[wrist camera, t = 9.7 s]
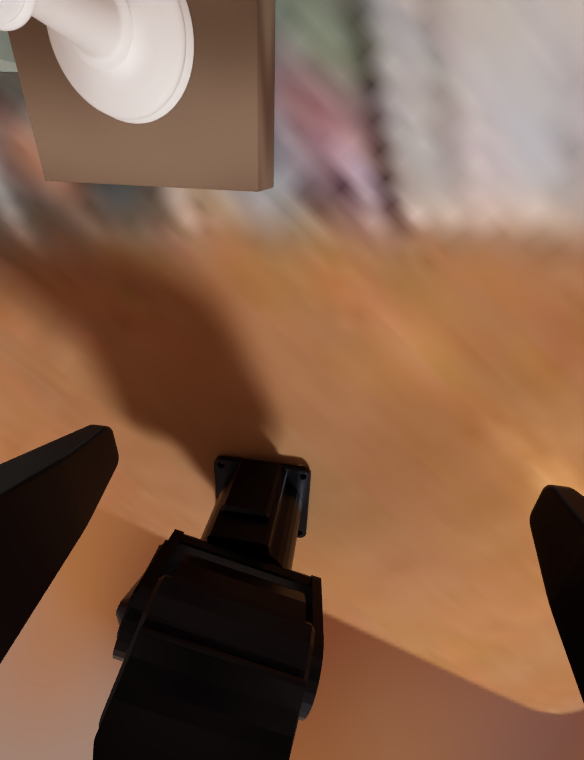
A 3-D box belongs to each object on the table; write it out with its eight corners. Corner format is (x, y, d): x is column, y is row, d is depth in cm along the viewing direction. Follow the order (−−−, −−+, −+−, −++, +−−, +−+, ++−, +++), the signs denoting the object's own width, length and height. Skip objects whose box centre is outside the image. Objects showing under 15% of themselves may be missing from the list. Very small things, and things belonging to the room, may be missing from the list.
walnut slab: (273, 187, 17) (258, 191, 15) (89, 178, 18) (45, 180, 16) (276, -112, 13) (255, -181, 10) (33, -102, 14) (-42, -161, 11)
